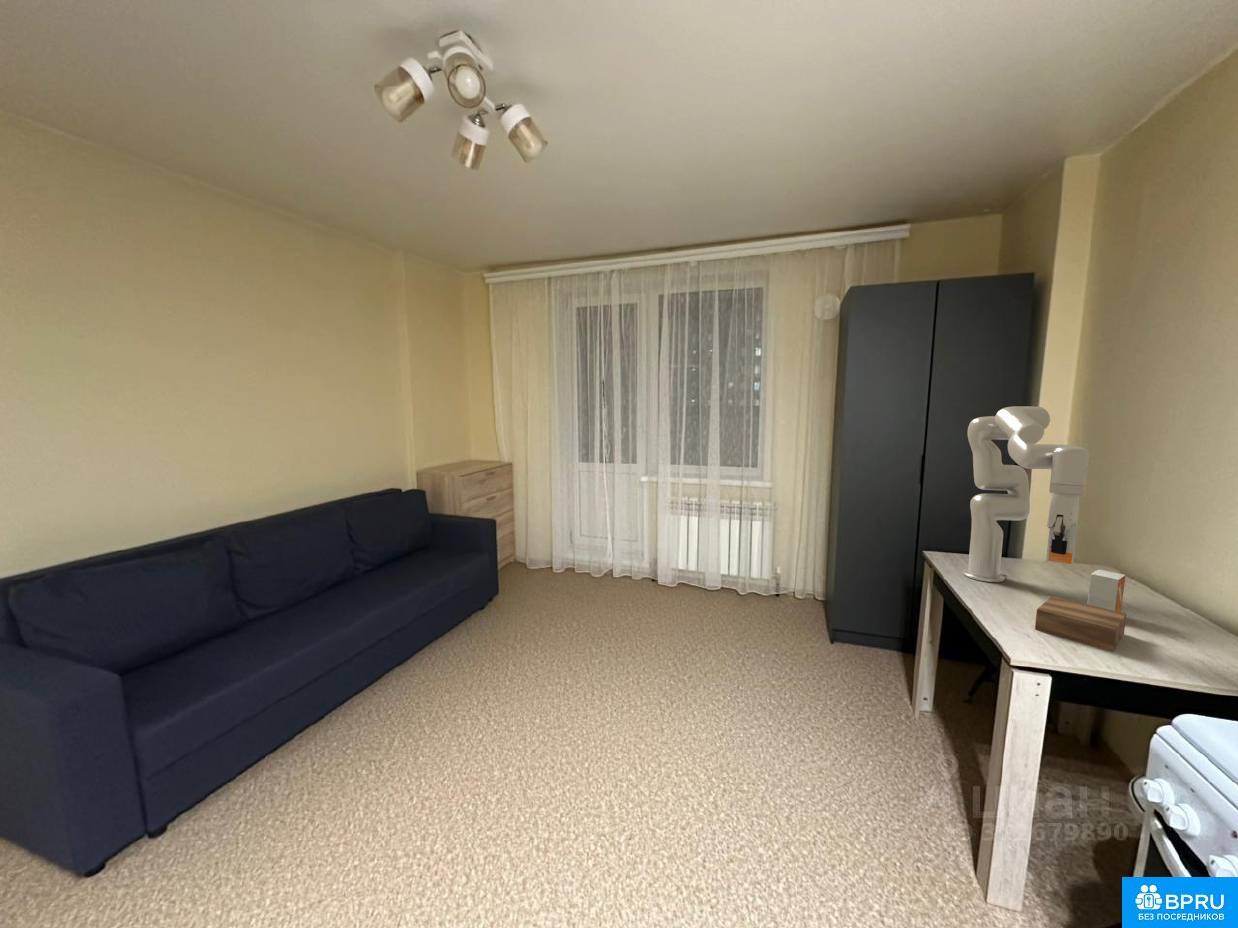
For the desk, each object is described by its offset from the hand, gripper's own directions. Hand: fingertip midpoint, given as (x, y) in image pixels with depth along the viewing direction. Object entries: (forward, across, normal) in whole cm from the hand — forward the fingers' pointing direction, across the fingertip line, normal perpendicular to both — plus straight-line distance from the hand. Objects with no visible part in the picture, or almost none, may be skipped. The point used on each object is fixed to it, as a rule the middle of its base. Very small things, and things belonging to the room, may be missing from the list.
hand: (1061, 551), depth 141 cm
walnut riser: (+22, +1, +6) cm, 23 cm away
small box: (+22, -20, +7) cm, 31 cm away
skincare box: (+4, 0, 0) cm, 4 cm away
